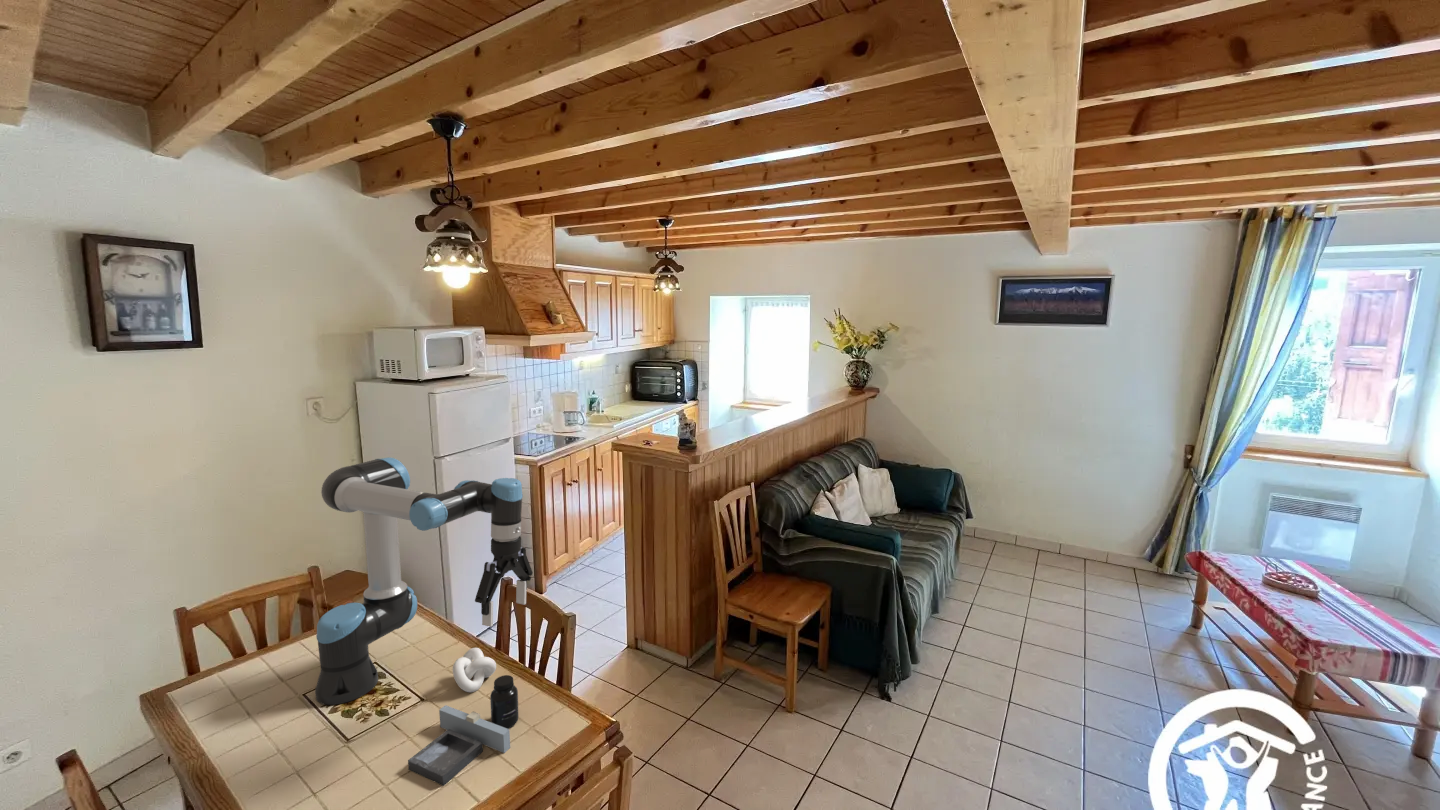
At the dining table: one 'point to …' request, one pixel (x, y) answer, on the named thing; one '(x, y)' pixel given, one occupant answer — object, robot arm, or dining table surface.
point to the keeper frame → (445, 756)
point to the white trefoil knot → (472, 669)
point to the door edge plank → (475, 728)
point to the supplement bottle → (504, 702)
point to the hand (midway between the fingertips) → (505, 613)
